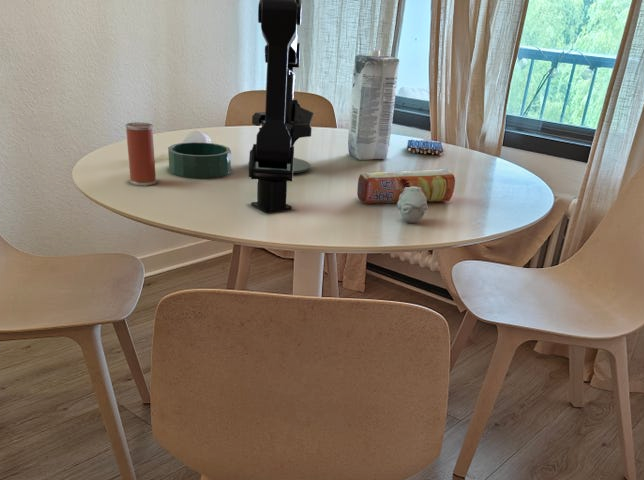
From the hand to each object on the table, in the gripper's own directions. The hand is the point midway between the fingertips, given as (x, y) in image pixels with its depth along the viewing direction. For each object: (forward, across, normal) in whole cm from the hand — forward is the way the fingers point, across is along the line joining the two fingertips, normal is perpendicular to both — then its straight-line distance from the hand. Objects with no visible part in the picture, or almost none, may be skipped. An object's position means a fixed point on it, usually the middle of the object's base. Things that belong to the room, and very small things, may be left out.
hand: (279, 159), depth 164 cm
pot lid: (+1, 0, 0) cm, 1 cm away
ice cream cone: (+2, +20, +14) cm, 25 cm away
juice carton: (+2, +1, -30) cm, 30 cm away
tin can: (+2, +1, +36) cm, 37 cm away
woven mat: (+1, 0, -52) cm, 52 cm away
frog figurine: (+2, -48, -1) cm, 48 cm away
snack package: (+2, -36, -10) cm, 38 cm away
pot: (+2, +5, +20) cm, 21 cm away
